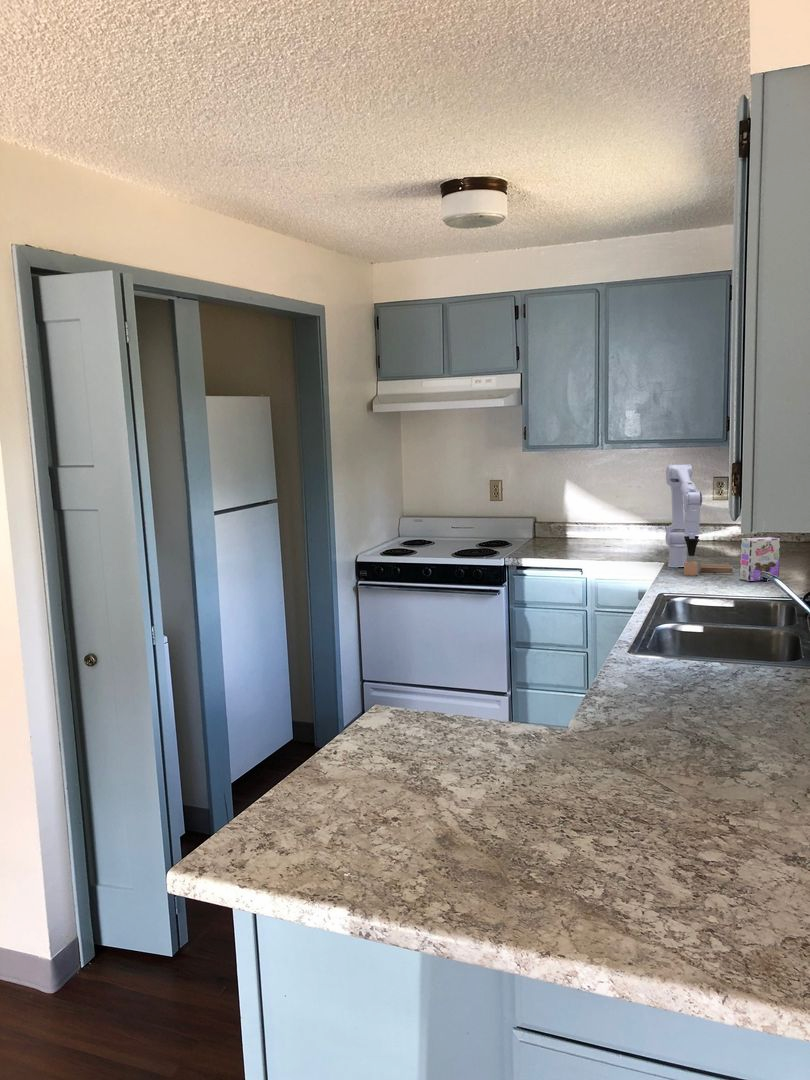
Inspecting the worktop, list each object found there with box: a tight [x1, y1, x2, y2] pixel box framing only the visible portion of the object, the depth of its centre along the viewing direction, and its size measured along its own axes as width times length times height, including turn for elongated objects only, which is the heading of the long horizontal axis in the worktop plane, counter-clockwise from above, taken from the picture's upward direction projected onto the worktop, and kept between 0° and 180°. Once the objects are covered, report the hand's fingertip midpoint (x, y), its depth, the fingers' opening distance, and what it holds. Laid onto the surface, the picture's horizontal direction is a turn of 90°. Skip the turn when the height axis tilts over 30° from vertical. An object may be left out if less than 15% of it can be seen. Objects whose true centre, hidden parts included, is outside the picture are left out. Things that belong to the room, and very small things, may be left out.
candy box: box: [739, 536, 781, 582], centre depth 323 cm, size 14×6×16 cm, turn 105°
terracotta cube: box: [683, 561, 699, 576], centre depth 339 cm, size 5×5×5 cm
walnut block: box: [699, 563, 733, 574], centre depth 345 cm, size 12×12×3 cm
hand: (691, 554), depth 339 cm, fingers open, 7 cm apart
